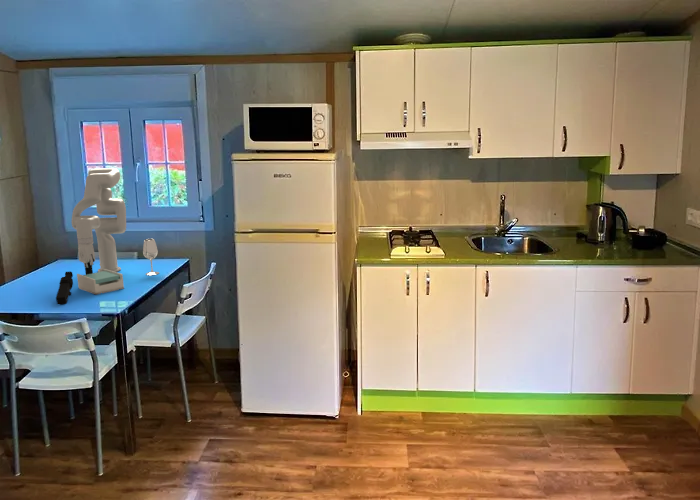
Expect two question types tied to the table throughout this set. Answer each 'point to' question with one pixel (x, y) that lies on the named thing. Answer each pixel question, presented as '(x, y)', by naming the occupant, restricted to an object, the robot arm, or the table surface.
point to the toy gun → (64, 288)
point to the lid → (102, 276)
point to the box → (100, 284)
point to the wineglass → (150, 253)
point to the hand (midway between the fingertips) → (89, 274)
